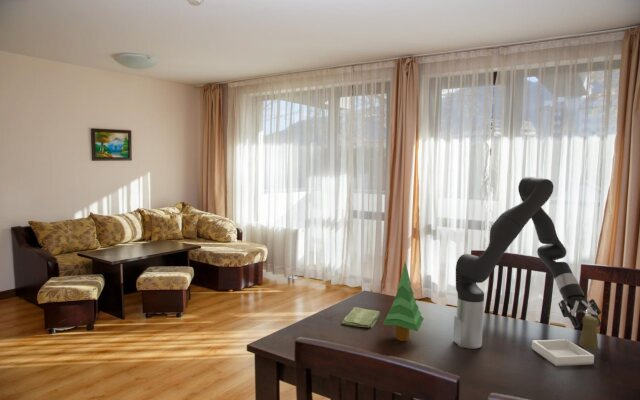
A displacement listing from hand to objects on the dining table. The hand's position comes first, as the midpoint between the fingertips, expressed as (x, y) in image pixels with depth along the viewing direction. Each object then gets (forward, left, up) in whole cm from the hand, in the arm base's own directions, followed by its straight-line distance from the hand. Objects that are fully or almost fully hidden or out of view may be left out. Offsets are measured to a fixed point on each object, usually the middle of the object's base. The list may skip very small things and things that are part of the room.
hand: (588, 326), depth 164 cm
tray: (-16, -8, -7) cm, 19 cm away
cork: (0, -1, -7) cm, 7 cm away
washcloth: (-78, +32, -8) cm, 85 cm away
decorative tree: (-67, +12, -7) cm, 68 cm away
